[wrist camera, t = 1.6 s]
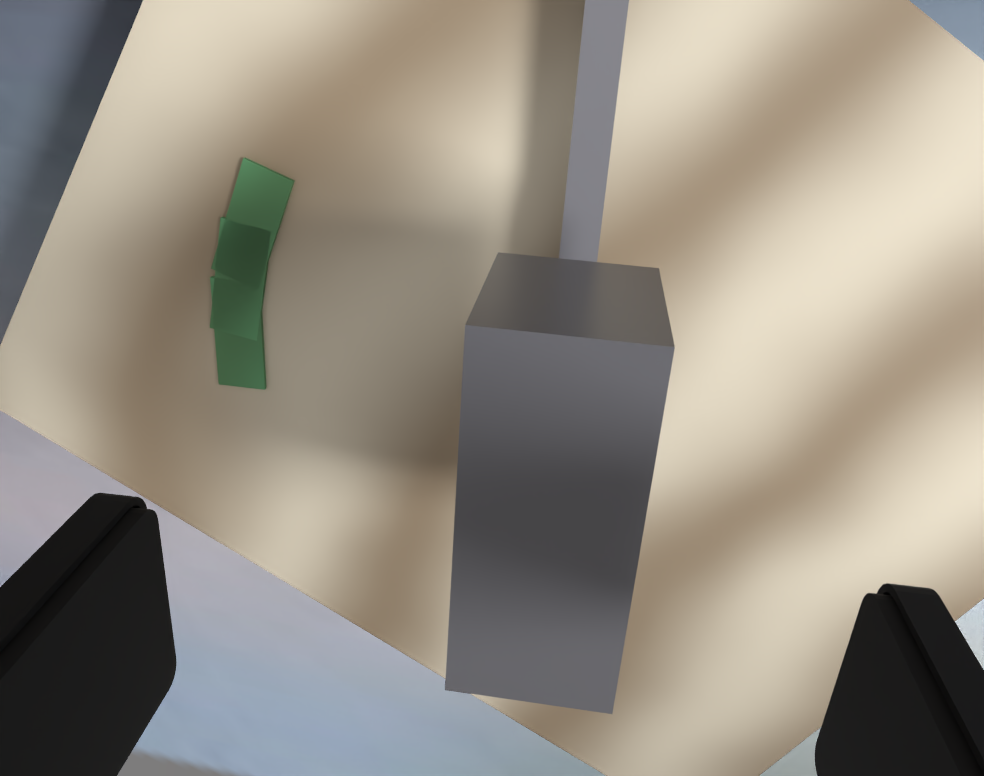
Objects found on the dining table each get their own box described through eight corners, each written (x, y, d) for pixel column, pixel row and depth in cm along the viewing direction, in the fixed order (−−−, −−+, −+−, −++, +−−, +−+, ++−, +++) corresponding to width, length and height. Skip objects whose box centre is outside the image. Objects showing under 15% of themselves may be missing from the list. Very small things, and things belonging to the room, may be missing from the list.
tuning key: (610, 506, 21) (612, 714, 15) (492, 492, 21) (444, 690, 15) (694, -58, 16) (751, -103, 9) (535, -68, 16) (489, -118, 10)
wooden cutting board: (1251, 302, 19) (1324, 335, 17) (686, 773, 27) (692, 831, 25) (366, -409, 16) (333, -467, 14) (26, 368, 24) (-25, 399, 22)
